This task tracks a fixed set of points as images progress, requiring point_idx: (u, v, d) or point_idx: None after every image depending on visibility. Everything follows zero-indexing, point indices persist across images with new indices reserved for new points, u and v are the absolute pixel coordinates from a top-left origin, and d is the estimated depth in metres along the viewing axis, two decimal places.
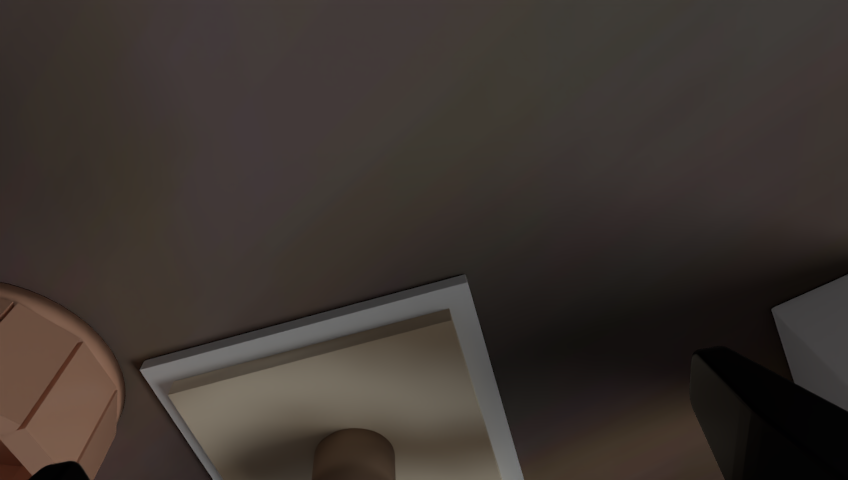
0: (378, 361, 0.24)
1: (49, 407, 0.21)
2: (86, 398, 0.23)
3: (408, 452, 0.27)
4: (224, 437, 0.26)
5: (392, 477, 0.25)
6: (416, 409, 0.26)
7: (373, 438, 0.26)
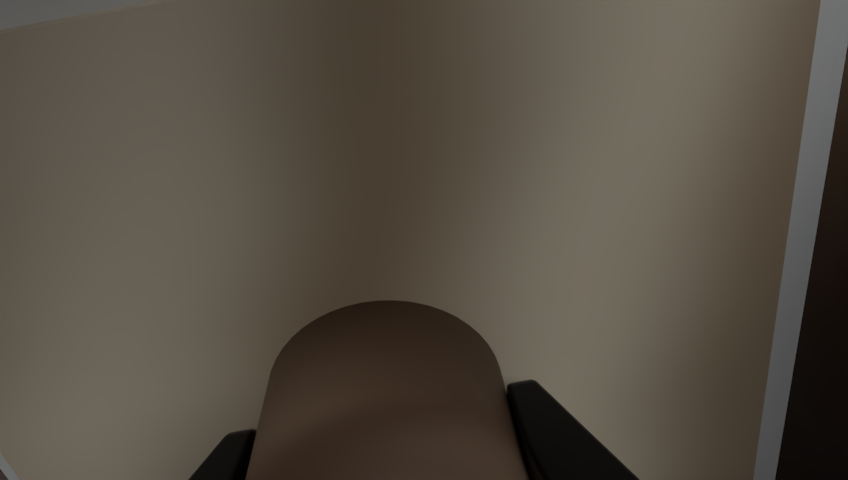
0: None
1: None
2: None
3: (392, 260, 0.08)
4: None
5: (343, 393, 0.07)
6: (188, 226, 0.08)
7: (278, 366, 0.08)
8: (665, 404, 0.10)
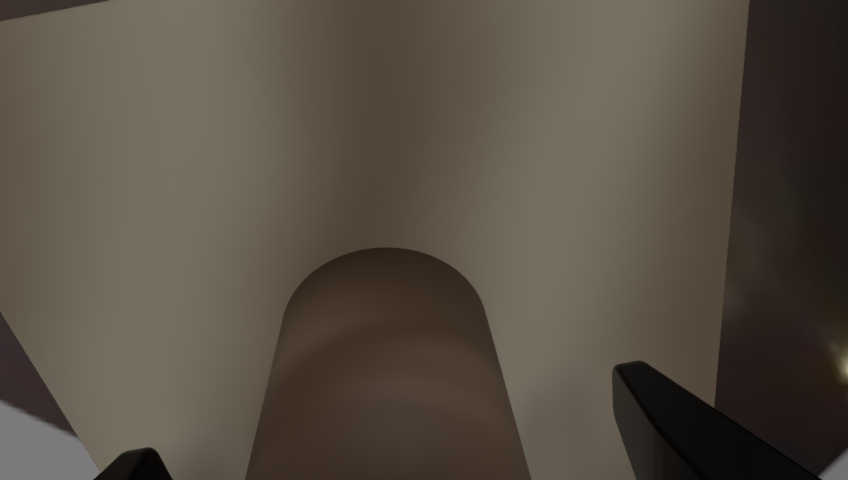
0: (41, 259, 0.09)
1: None
2: None
3: (390, 211, 0.09)
4: None
5: (348, 316, 0.08)
6: (215, 180, 0.09)
7: (292, 304, 0.10)
8: (631, 345, 0.11)
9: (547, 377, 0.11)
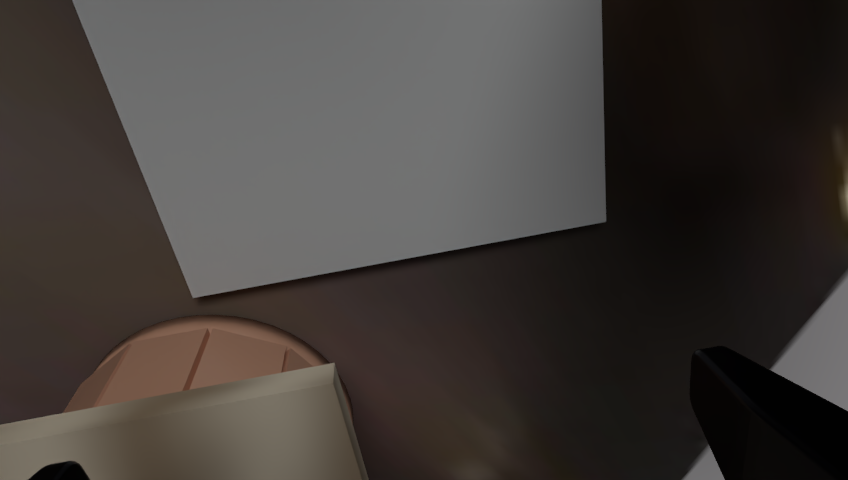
0: None
1: None
2: (162, 364, 0.19)
3: None
4: None
5: None
6: None
7: None
8: None
9: None
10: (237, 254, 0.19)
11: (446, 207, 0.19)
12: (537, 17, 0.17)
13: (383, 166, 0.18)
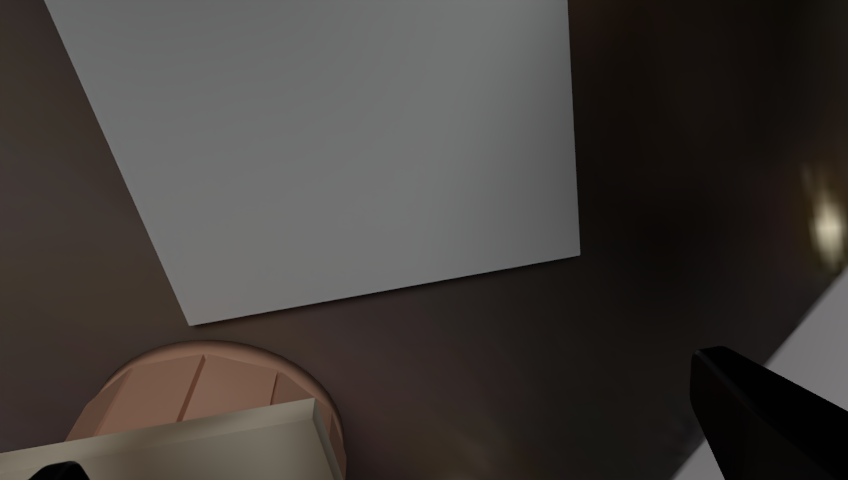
0: None
1: (108, 432, 0.19)
2: (160, 390, 0.20)
3: None
4: None
5: None
6: None
7: None
8: None
9: None
10: (229, 286, 0.21)
11: (426, 243, 0.20)
12: (508, 69, 0.18)
13: (365, 206, 0.20)
